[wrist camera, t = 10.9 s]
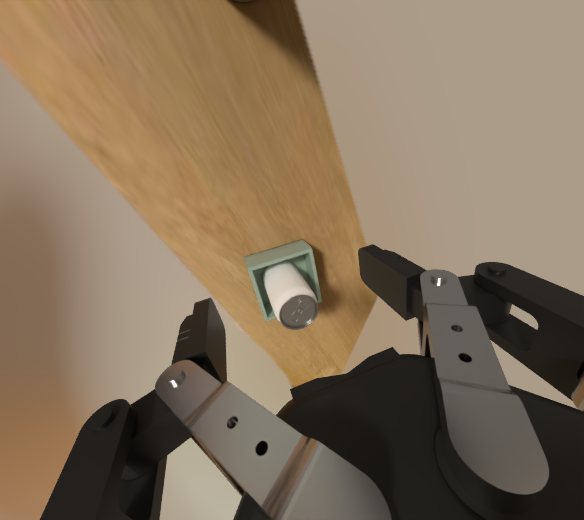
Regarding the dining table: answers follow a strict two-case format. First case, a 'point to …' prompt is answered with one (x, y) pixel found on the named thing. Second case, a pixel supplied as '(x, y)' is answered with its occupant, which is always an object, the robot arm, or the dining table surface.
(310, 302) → the can
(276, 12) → the dining table surface
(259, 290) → the bin
